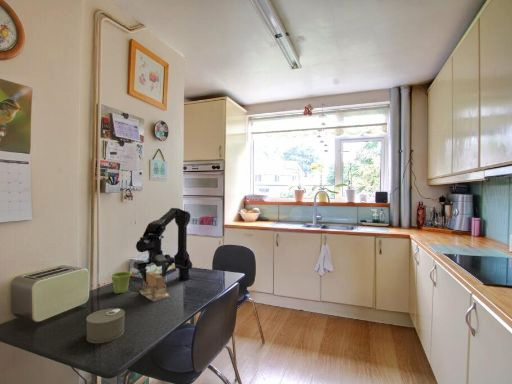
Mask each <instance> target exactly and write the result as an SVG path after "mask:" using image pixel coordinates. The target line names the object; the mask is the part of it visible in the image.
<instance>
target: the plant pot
mask: <svg viewBox="0 0 512 384" xmlns="http://www.w3.org/2000/svg"><path fill="white" fill-rule="evenodd" d="M131 275H132V273H131V272H130V271H120V272H119V271H118V272H115V273H112V274H110V277H111V280H112V286H113V293H115V294H124V293H126V292H127V291H128V289H129V283H130V277H131Z"/></svg>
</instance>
